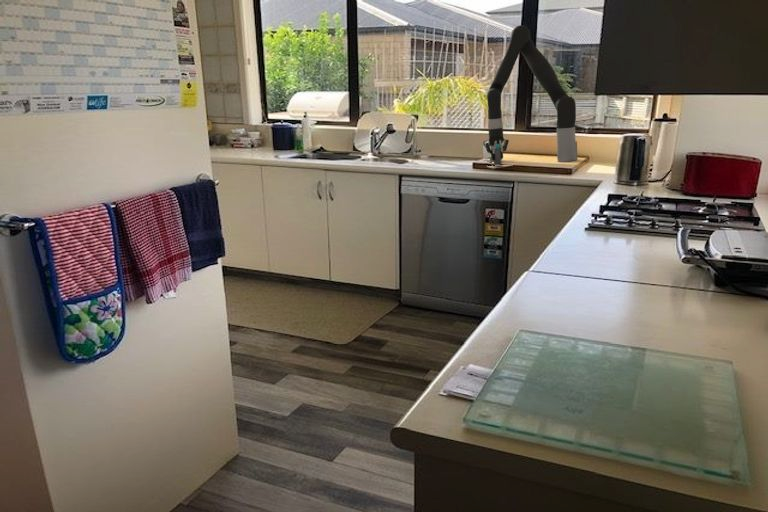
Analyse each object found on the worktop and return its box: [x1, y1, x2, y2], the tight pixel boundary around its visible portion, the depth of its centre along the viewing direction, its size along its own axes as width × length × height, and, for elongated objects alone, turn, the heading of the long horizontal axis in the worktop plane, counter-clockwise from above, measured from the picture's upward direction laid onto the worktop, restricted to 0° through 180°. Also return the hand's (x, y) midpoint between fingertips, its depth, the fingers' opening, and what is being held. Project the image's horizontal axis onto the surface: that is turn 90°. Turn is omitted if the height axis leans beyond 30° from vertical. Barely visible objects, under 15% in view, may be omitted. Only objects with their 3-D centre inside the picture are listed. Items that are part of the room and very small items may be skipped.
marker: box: [494, 144, 502, 165], centre depth 316 cm, size 4×4×11 cm
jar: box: [482, 139, 491, 160], centre depth 338 cm, size 9×8×12 cm
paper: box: [485, 164, 514, 169], centre depth 319 cm, size 12×9×1 cm
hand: (497, 159), depth 317 cm, fingers closed on marker, 3 cm apart
